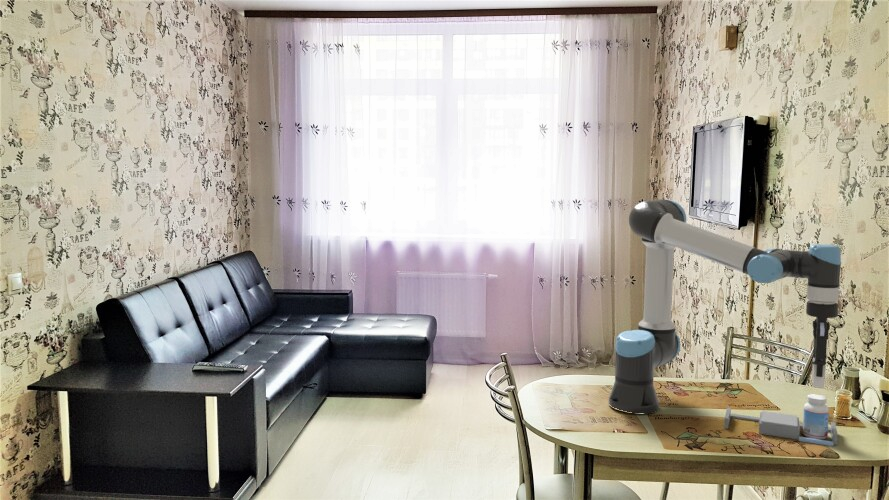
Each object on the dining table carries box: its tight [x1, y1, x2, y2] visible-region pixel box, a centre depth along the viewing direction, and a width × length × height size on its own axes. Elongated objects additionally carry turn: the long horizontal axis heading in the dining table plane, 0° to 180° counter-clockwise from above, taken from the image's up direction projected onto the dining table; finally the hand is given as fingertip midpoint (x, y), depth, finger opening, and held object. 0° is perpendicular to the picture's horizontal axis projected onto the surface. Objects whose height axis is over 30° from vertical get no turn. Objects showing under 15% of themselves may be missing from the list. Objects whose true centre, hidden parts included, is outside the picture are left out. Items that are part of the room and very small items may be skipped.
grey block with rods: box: [723, 407, 839, 447], centre depth 188 cm, size 28×13×4 cm, turn 63°
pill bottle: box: [802, 393, 830, 440], centre depth 183 cm, size 6×6×11 cm
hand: (817, 384), depth 182 cm, fingers open, 5 cm apart
